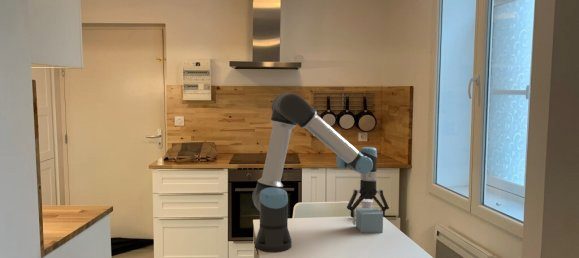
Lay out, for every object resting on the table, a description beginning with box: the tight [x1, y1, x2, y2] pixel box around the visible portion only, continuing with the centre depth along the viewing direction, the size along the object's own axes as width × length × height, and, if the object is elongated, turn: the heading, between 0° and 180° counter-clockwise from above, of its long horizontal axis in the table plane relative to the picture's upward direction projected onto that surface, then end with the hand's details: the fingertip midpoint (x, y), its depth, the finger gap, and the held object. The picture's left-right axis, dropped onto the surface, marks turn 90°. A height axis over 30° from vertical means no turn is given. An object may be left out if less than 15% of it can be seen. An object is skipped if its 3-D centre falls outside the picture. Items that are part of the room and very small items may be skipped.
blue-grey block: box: [355, 207, 384, 234], centre depth 195 cm, size 10×10×9 cm
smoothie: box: [360, 199, 374, 208], centre depth 213 cm, size 6×6×14 cm
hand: (367, 223), depth 197 cm, fingers open, 13 cm apart
